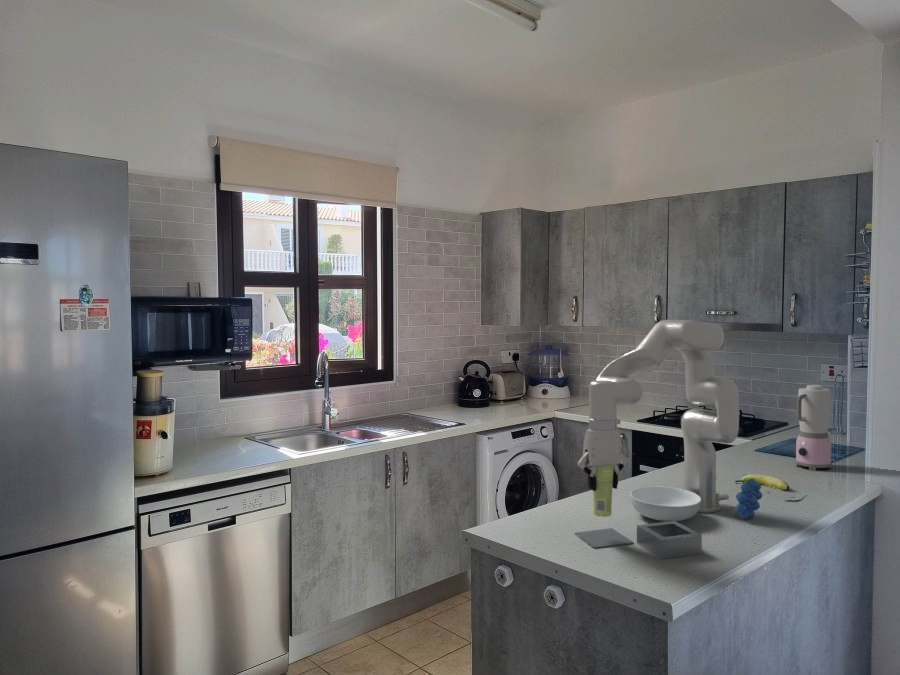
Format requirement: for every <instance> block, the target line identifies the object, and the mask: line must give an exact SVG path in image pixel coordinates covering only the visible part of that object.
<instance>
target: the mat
mask: <svg viewBox="0 0 900 675" xmlns="http://www.w3.org/2000/svg"><path fill="white" fill-rule="evenodd" d="M574 533H575V534H576V535H578V536H579V537H580V538H582V539H583V540H584V541H586V542H587V543H588V544H587V543H586V542H585V543H586V544H587V545H589V544H590V545H591V546H592V547H591V546H590V545H589V546H590V547H591V548H593V547H594V548H595V549H598V548H597V547H603V548H608V547H607V546H611V547H617V545H619V546H626V544H627V545H634V541H633V540H632V539H630V538H628V537H627V536H625V535H624V534H622V533H620V532H618V531H617V530H615V529H614V528H611V527H610V528H603V529H602V528H601V529H595V530H587V531H577V532H574ZM575 534H574V535H575ZM576 535H575V536H576ZM578 536H577V537H578ZM579 537H578V538H579ZM580 538H579V539H580ZM582 539H581V540H582ZM583 540H582V541H583ZM584 541H583V542H584ZM594 548H593V549H594Z"/></svg>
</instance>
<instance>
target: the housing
mask: <svg viewBox="0 0 900 675" xmlns="http://www.w3.org/2000/svg"><path fill="white" fill-rule="evenodd" d="M702 539H703V535H702V534H701V533H699V532H697V531H695V530H693V529H692V528H689V527H687V526H686V525H683V524H682V523H679V521H670V522H664V521H660V522H654V523H647V524H637V525H636V544H637V545H638V546H641V547H642V548H644V549H646V550H647V551H648V552H650V553H652V554H653V555H654V556H656V557H658V558H659V559H661V560H663V559H664V560H665V559H672V558H673V559H674V558H678V557H679V558H680V557H687V556H688V557H689V556H695V555H702V553H703V551H702V550H703V549H702V548H703V547H702V546H703V545H702V544H703V540H702Z"/></svg>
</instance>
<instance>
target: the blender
mask: <svg viewBox="0 0 900 675" xmlns="http://www.w3.org/2000/svg"><path fill="white" fill-rule="evenodd" d="M831 404H832V403H831V390H830V389H829V388H823V386H822V385H817V384H815V385H814V384H808V385H806V387H801V388H798V394H797V398H796V419H797V421H798V424H799V434H798V436H797V438H796V443H795V466H796V467H797V468H798V467H799V466H802V467H805V468H807V467H808V469H809V471H816V470H817V469H825V468H829V469H831V468H832V442H831V438H830V437H829V436H830V435H829V432H828V431H829V426H830V420H831V412H832V411H831V408H832V407H831V406H832V405H831Z"/></svg>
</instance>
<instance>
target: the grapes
mask: <svg viewBox="0 0 900 675" xmlns="http://www.w3.org/2000/svg"><path fill="white" fill-rule="evenodd" d="M761 488H762V485H760V483H759V482H757V481H755V480H754V479H753V478H752V479H749V480H748V481H747V482H746V483H741V486H740V490H741V491H739V492H737V494H736V496H735V497H736V500H737V502H738V503H737V505H736V506H735V507H736V508H735V509H736V511H737V513H738V514H739V518H741V519H742V520H746V519H747V518H748V519H751V518H753V517H754V516H755V515H756V513H755V512H756V511H757V510H759V509H760V507H761V504H760V500H761V499H762V498H763V493H762V491H761Z"/></svg>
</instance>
